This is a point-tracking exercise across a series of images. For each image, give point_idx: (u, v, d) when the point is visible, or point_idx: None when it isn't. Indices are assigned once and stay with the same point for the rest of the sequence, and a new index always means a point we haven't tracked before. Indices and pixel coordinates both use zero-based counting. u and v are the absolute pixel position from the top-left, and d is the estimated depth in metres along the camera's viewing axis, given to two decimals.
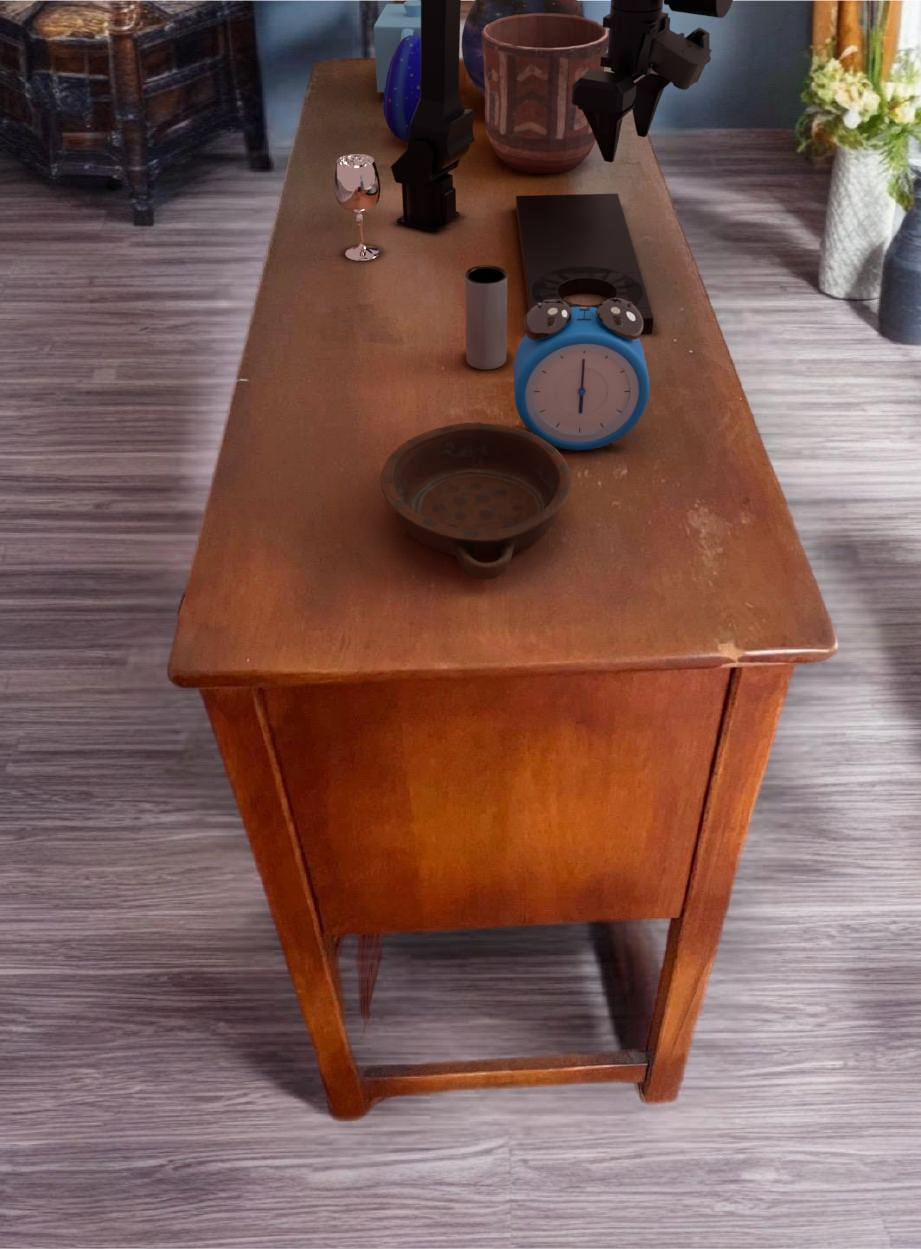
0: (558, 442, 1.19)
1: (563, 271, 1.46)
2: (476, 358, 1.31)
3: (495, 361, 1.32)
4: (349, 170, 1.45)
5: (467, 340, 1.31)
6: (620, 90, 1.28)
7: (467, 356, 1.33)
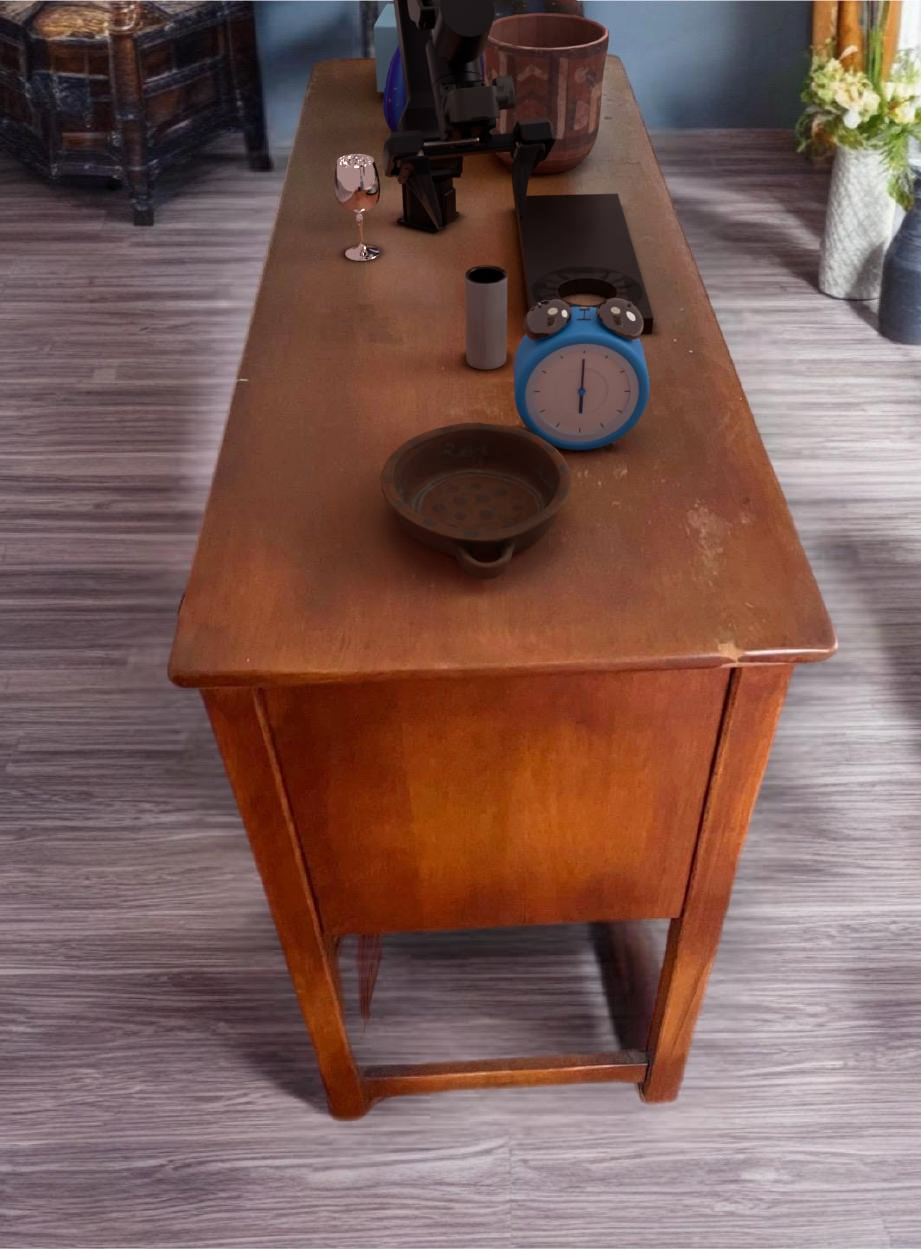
0: (558, 442, 1.19)
1: (563, 271, 1.46)
2: (476, 358, 1.31)
3: (495, 361, 1.32)
4: (349, 170, 1.45)
5: (467, 340, 1.31)
6: (391, 135, 1.28)
7: (467, 356, 1.33)
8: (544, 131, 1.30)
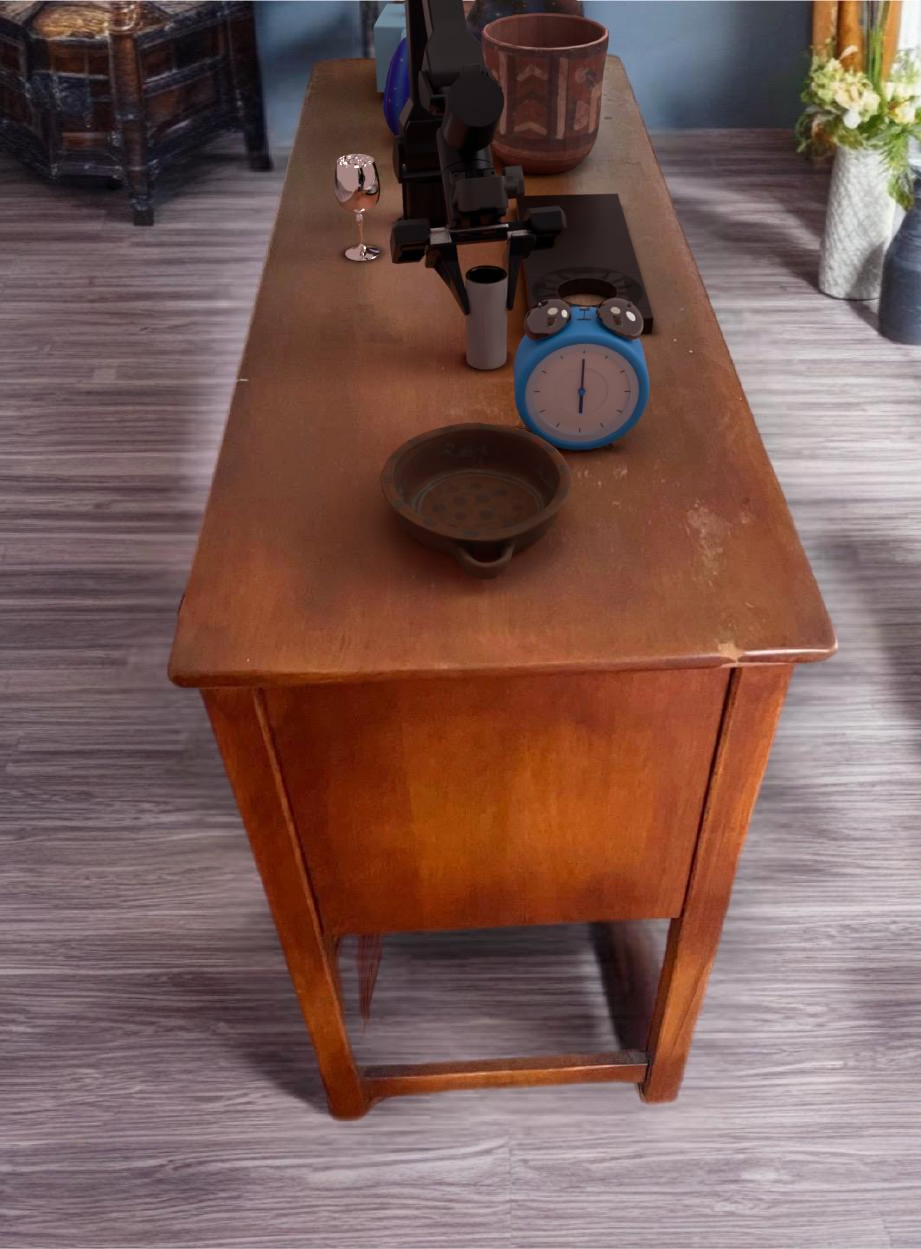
0: (558, 442, 1.19)
1: (563, 271, 1.46)
2: (476, 358, 1.31)
3: (495, 361, 1.32)
4: (349, 170, 1.45)
5: (467, 340, 1.31)
6: (397, 224, 1.25)
7: (467, 356, 1.33)
8: (555, 220, 1.27)
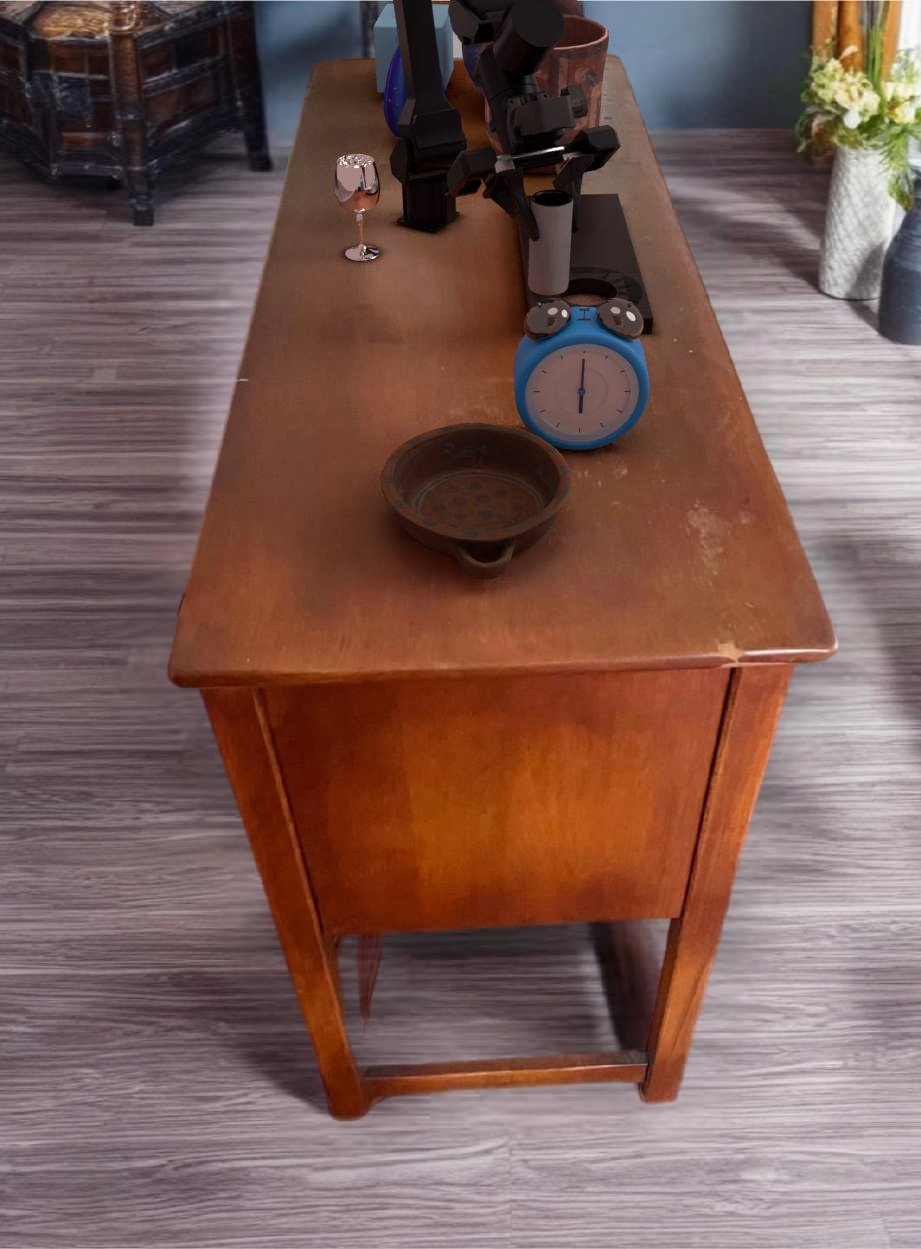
0: (558, 442, 1.19)
1: None
2: (543, 284, 1.32)
3: (561, 286, 1.32)
4: (349, 170, 1.45)
5: (533, 268, 1.31)
6: (463, 154, 1.24)
7: (532, 284, 1.33)
8: (610, 138, 1.28)
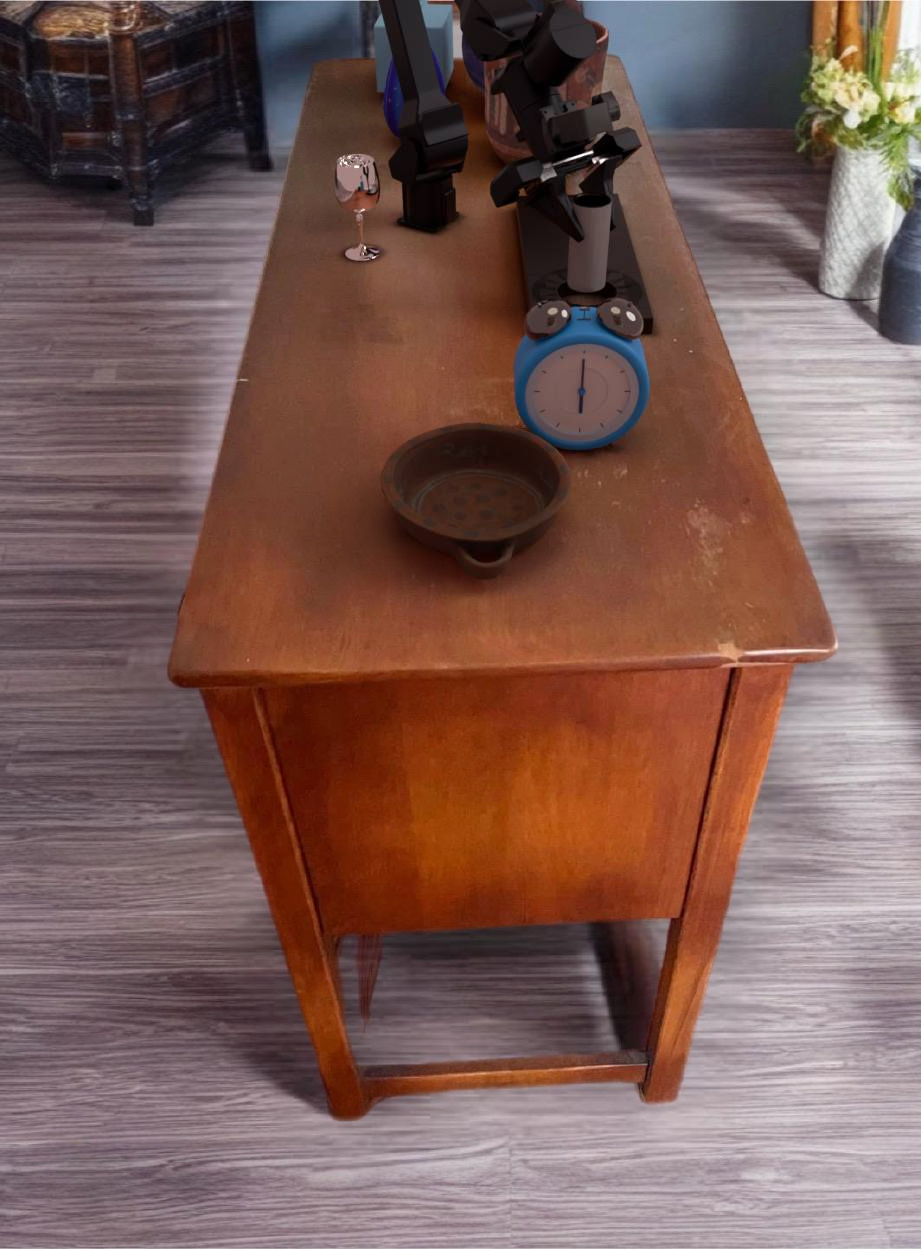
0: (558, 442, 1.19)
1: (563, 271, 1.46)
2: (586, 282, 1.39)
3: (602, 282, 1.40)
4: (349, 170, 1.45)
5: (576, 267, 1.38)
6: (512, 165, 1.29)
7: (574, 283, 1.39)
8: (633, 139, 1.36)
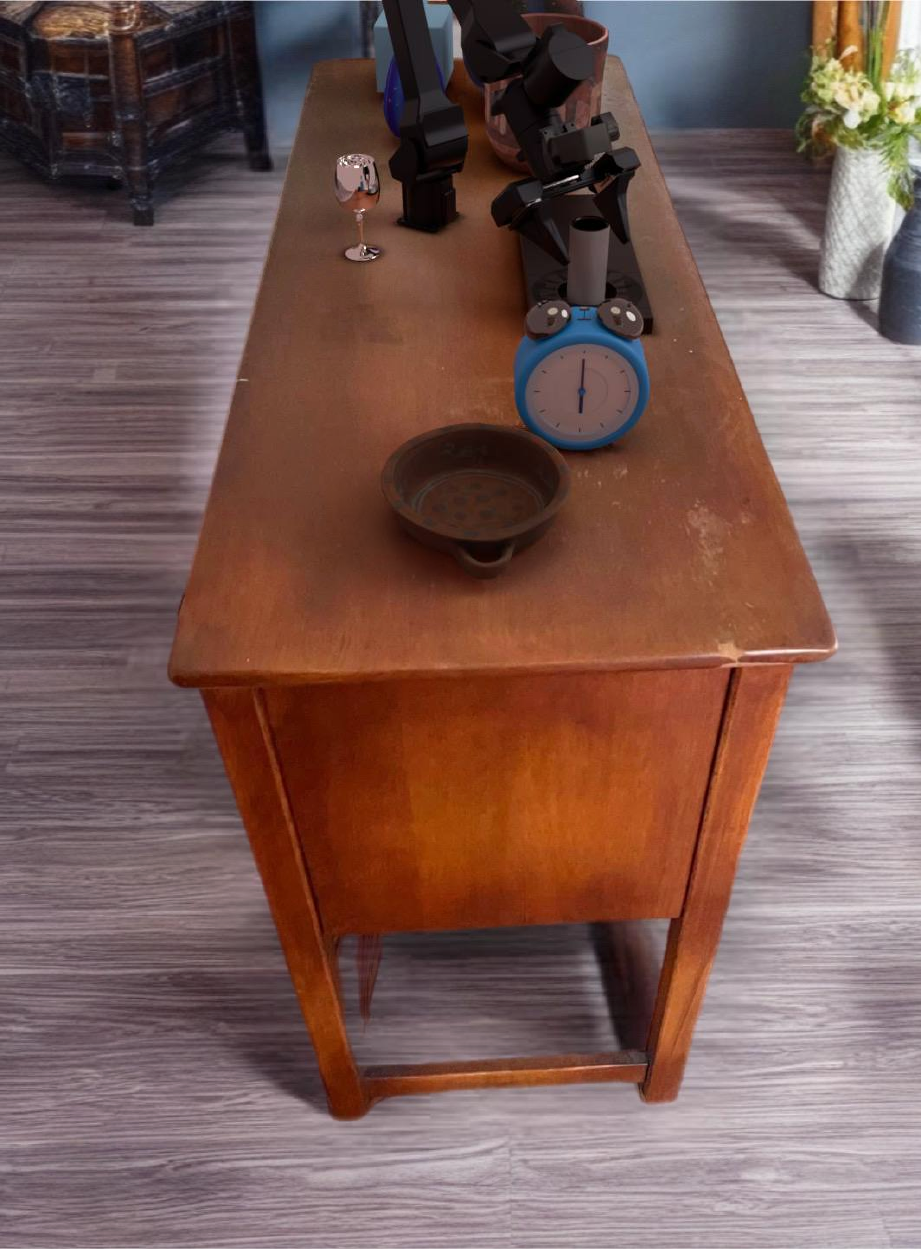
0: (558, 442, 1.19)
1: (563, 271, 1.46)
2: (585, 304, 1.41)
3: None
4: (349, 170, 1.45)
5: (575, 290, 1.40)
6: (513, 185, 1.31)
7: None
8: (632, 158, 1.38)
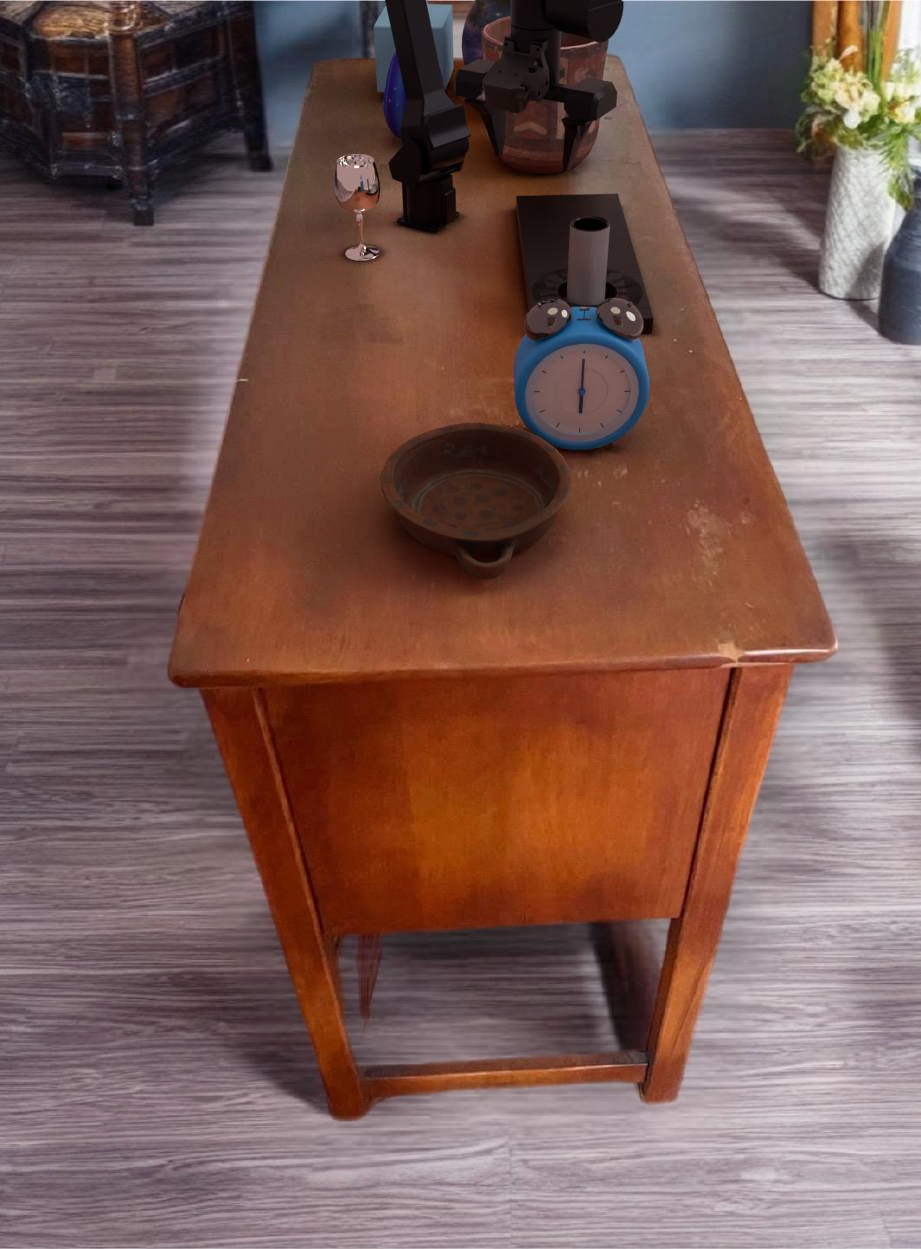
0: (558, 442, 1.19)
1: (563, 271, 1.46)
2: (585, 304, 1.41)
3: None
4: (349, 170, 1.45)
5: (575, 290, 1.40)
6: (457, 75, 1.38)
7: None
8: (584, 112, 1.32)
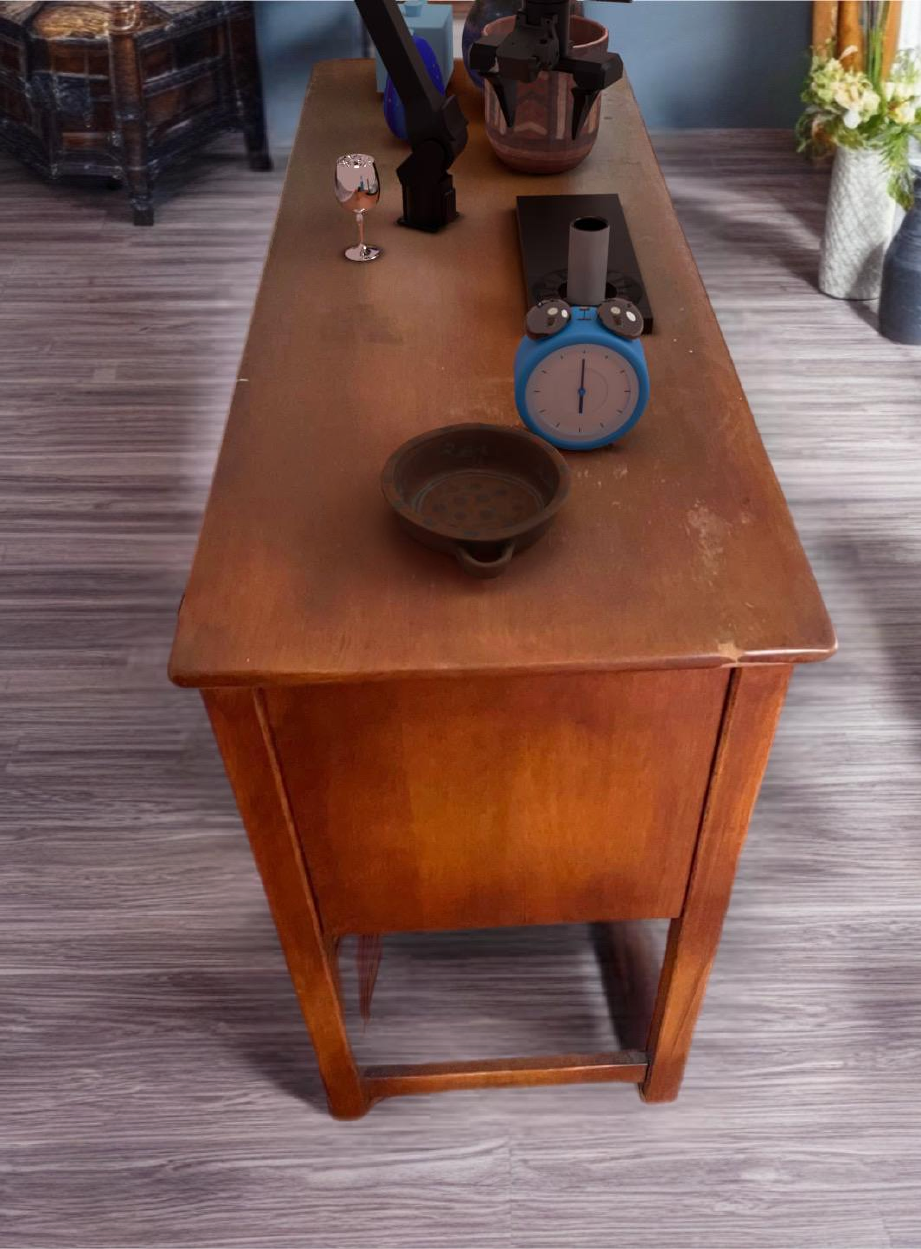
0: (558, 442, 1.19)
1: (563, 271, 1.46)
2: (585, 304, 1.41)
3: None
4: (349, 170, 1.45)
5: (575, 290, 1.40)
6: (471, 48, 1.46)
7: None
8: (592, 82, 1.40)
